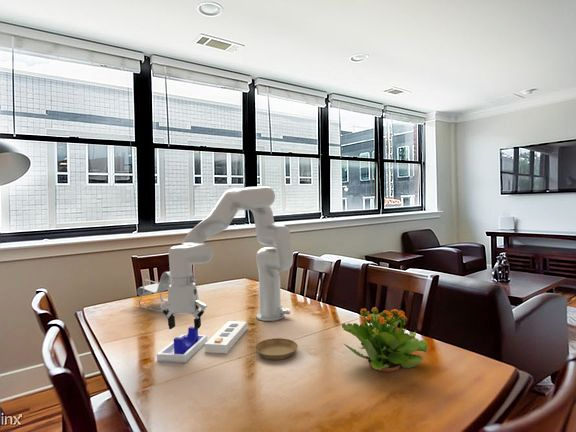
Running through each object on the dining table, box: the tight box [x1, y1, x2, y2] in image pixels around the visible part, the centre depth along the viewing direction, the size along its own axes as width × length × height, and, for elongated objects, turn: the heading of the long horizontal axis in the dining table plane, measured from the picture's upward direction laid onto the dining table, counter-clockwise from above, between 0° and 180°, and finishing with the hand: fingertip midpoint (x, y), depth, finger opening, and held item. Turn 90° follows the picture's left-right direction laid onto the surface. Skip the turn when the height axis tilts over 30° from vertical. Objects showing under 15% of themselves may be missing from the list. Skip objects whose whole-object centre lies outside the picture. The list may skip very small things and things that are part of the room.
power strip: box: [204, 320, 248, 354], centre depth 137 cm, size 8×24×4 cm, turn 169°
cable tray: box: [156, 333, 208, 364], centre depth 127 cm, size 10×18×2 cm, turn 169°
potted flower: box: [341, 306, 428, 373], centre depth 112 cm, size 25×24×18 cm
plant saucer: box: [254, 337, 298, 361], centre depth 124 cm, size 15×15×3 cm
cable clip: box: [173, 326, 199, 354], centre depth 127 cm, size 12×4×6 cm, turn 168°
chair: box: [137, 270, 171, 313], centre depth 182 cm, size 13×25×20 cm, turn 57°
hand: (184, 328), depth 128 cm, fingers open, 9 cm apart
